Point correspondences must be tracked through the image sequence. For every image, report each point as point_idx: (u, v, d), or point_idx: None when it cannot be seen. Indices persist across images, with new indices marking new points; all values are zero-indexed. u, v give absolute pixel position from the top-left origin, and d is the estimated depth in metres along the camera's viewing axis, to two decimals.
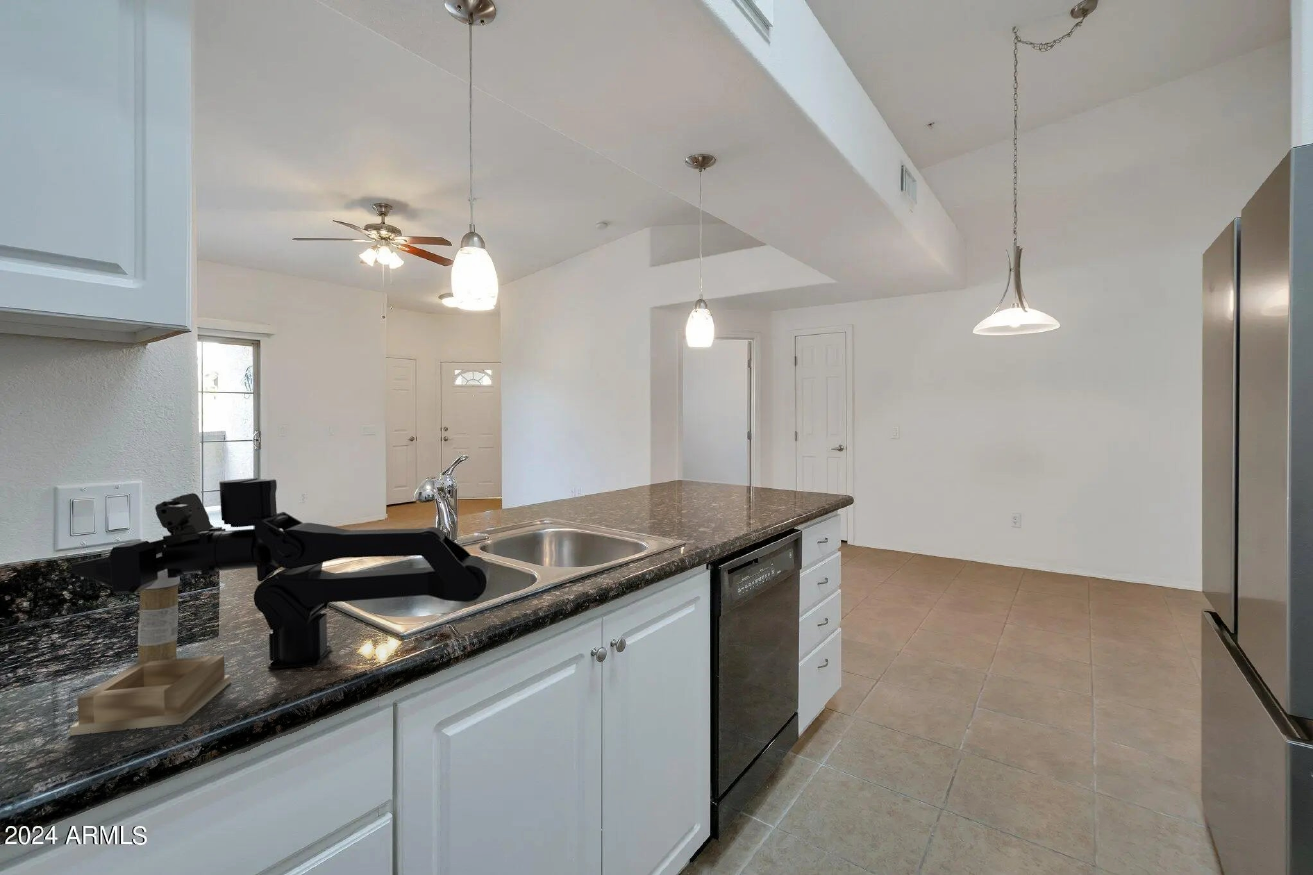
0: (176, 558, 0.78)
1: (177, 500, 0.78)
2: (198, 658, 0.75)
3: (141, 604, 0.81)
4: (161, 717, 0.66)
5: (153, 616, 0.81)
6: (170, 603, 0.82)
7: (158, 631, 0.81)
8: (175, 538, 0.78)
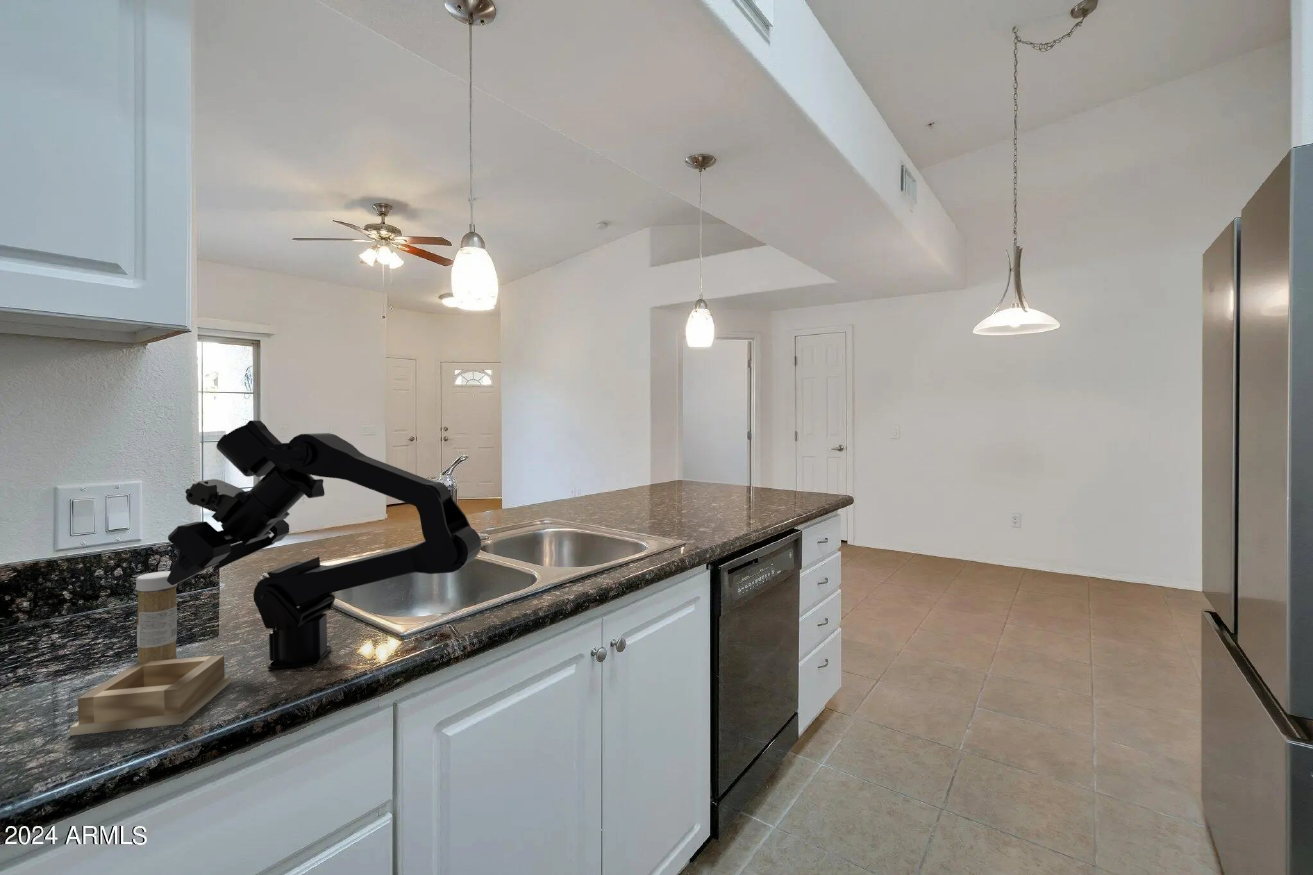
0: (236, 524, 0.80)
1: (196, 483, 0.80)
2: (198, 658, 0.75)
3: (139, 606, 0.80)
4: (161, 717, 0.66)
5: (152, 618, 0.80)
6: (168, 605, 0.82)
7: (158, 633, 0.81)
8: (221, 511, 0.80)
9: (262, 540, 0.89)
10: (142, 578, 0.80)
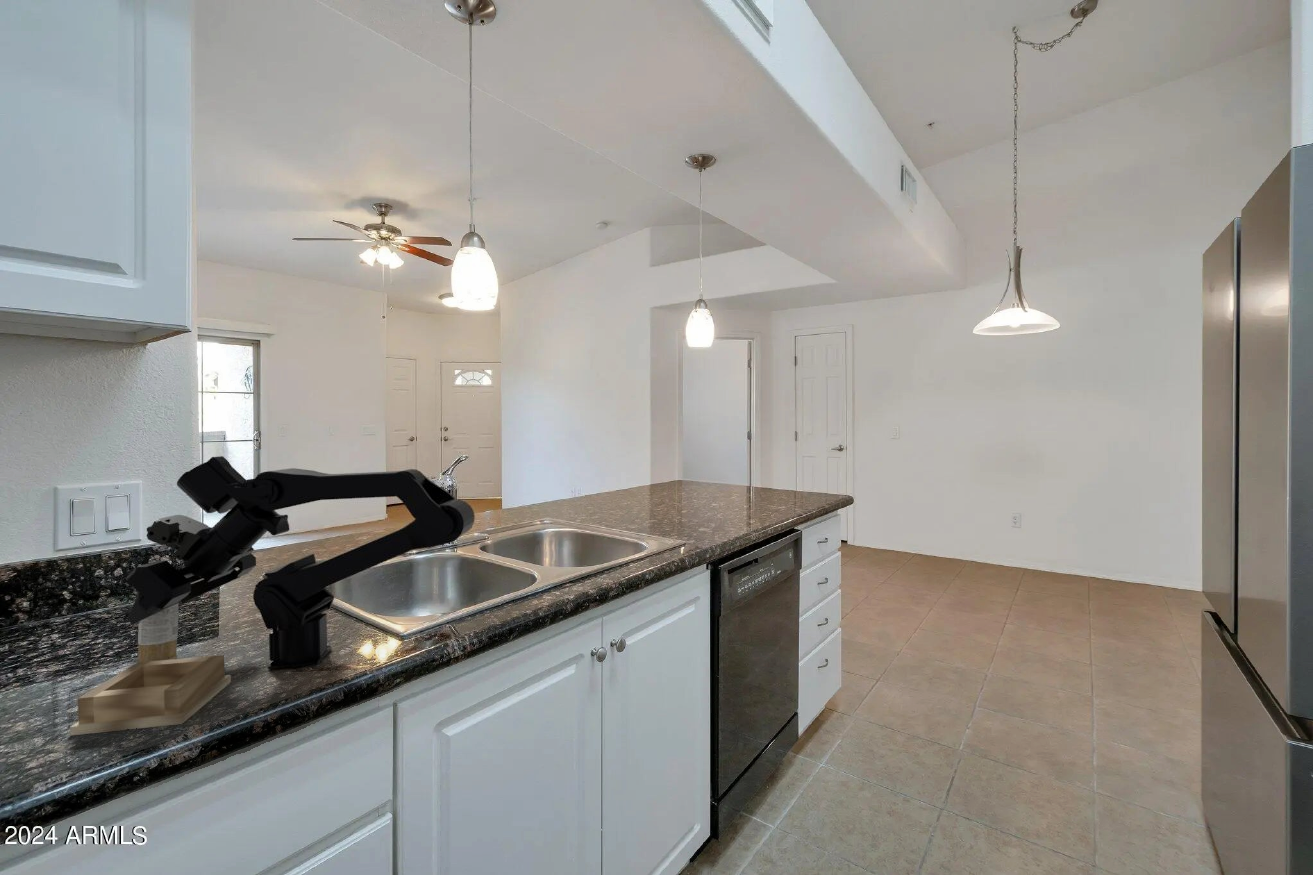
0: (198, 562, 0.80)
1: (158, 521, 0.80)
2: (198, 658, 0.75)
3: None
4: (161, 717, 0.66)
5: (155, 614, 0.81)
6: None
7: (159, 630, 0.81)
8: (182, 548, 0.80)
9: (228, 574, 0.89)
10: None
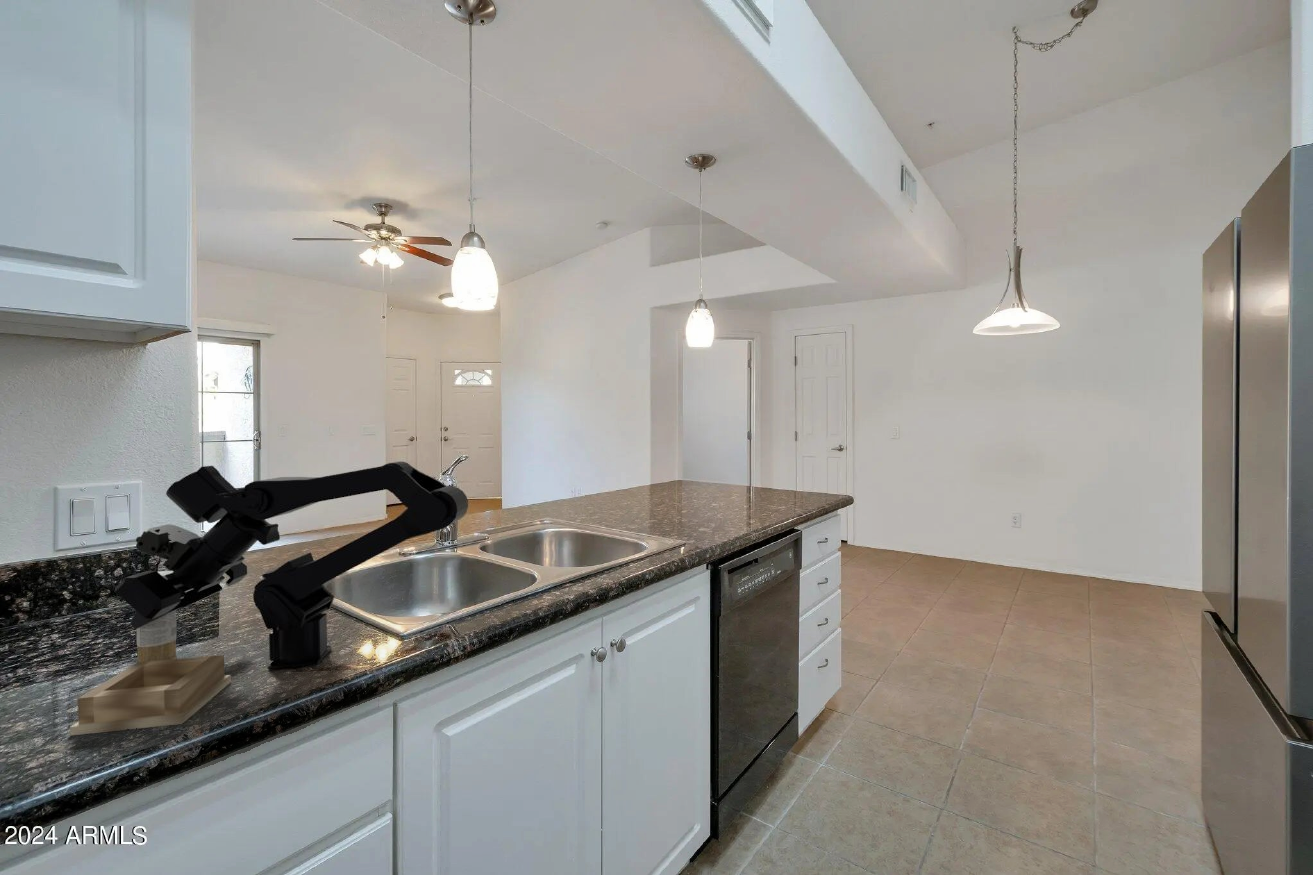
0: (188, 572, 0.80)
1: (147, 531, 0.80)
2: (198, 658, 0.75)
3: None
4: (161, 717, 0.66)
5: None
6: None
7: (158, 632, 0.81)
8: (172, 558, 0.80)
9: (208, 587, 0.86)
10: None
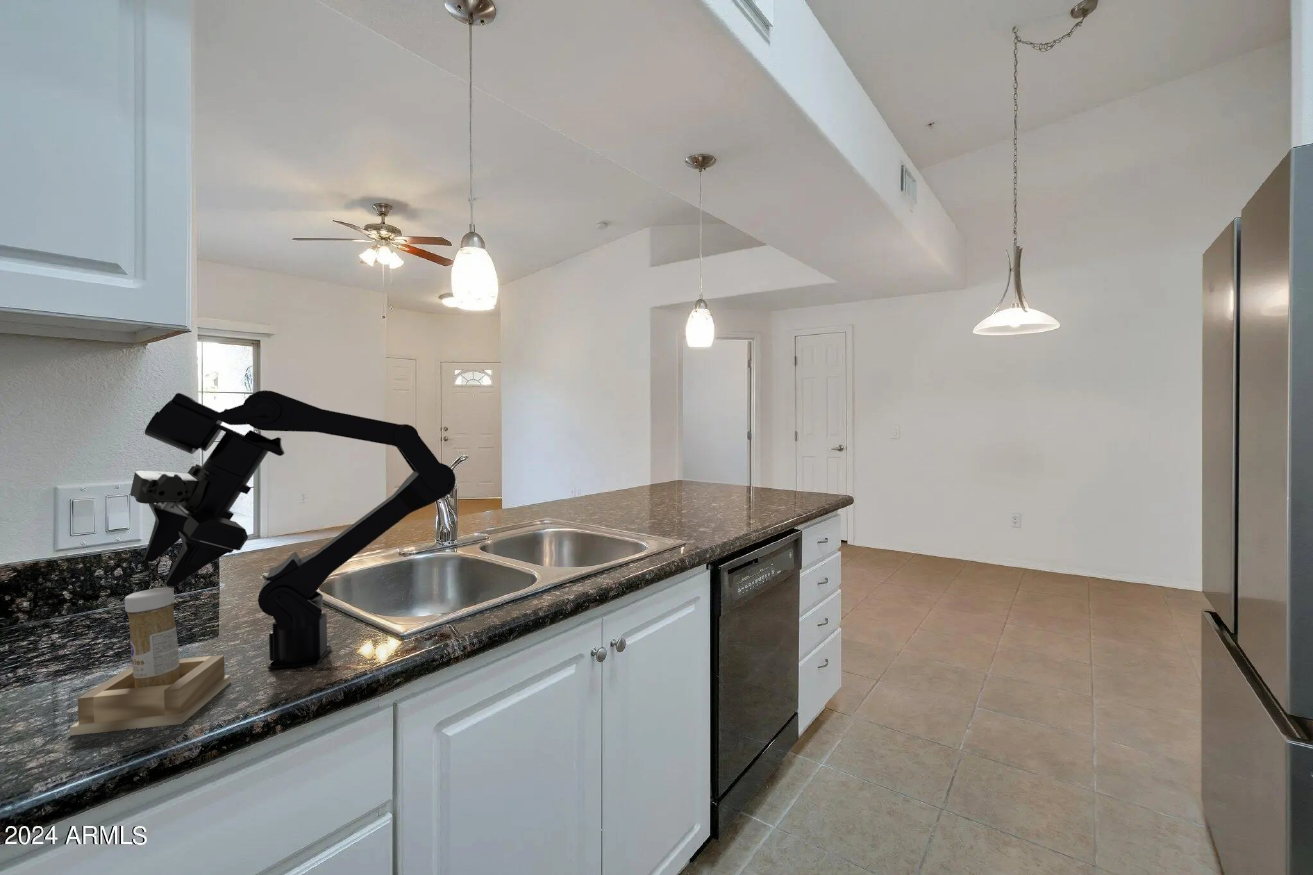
0: (217, 505, 0.77)
1: (150, 480, 0.70)
2: (198, 658, 0.75)
3: (149, 629, 0.68)
4: (161, 717, 0.66)
5: (169, 637, 0.70)
6: (174, 621, 0.71)
7: (174, 653, 0.70)
8: (194, 498, 0.74)
9: None
10: (150, 595, 0.68)
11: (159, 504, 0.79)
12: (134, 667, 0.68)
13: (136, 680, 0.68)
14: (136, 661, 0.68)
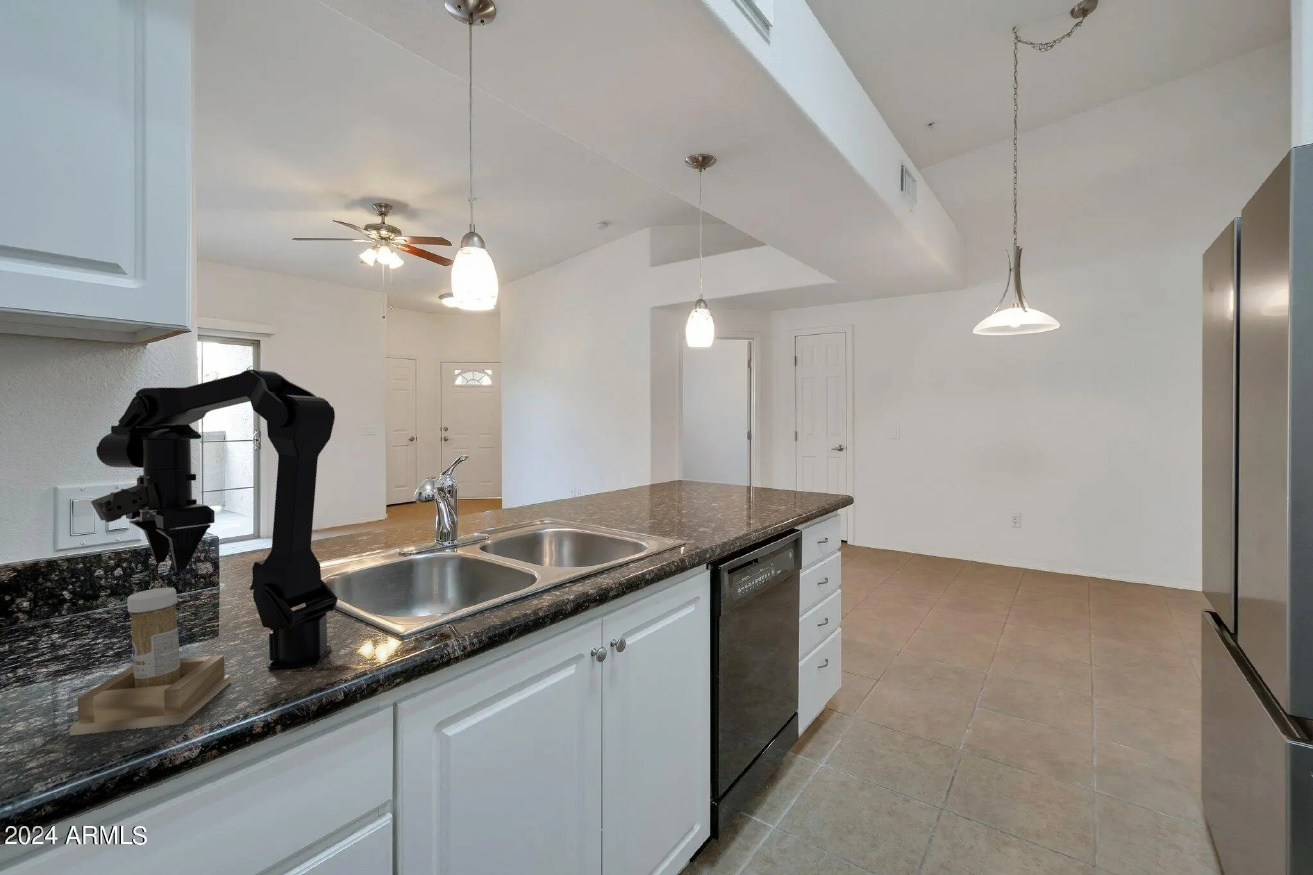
0: (176, 498, 0.87)
1: (103, 502, 0.80)
2: (198, 658, 0.75)
3: (150, 629, 0.68)
4: (161, 717, 0.66)
5: (170, 638, 0.70)
6: (176, 622, 0.71)
7: (175, 654, 0.70)
8: (152, 500, 0.85)
9: None
10: (152, 595, 0.68)
11: (138, 518, 0.90)
12: (135, 667, 0.68)
13: (137, 680, 0.68)
14: (137, 661, 0.68)
